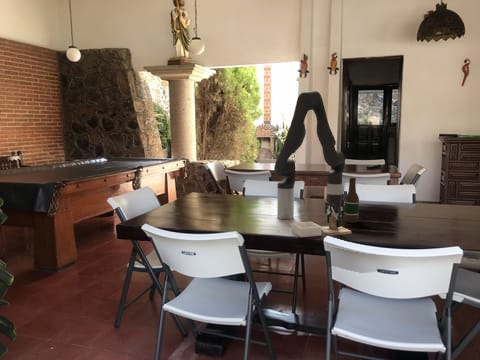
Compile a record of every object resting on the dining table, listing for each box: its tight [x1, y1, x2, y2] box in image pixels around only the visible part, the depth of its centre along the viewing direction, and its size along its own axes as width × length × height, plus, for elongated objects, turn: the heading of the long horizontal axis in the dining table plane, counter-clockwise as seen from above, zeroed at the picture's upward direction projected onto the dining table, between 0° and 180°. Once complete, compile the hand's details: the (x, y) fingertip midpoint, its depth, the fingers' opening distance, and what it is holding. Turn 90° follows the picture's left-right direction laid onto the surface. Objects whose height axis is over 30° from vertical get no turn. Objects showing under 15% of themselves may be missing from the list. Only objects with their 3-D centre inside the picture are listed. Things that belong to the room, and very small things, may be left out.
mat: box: [321, 231, 351, 236], centre depth 189 cm, size 14×12×1 cm
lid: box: [321, 215, 352, 236], centre depth 189 cm, size 12×12×7 cm
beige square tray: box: [291, 221, 322, 238], centre depth 185 cm, size 11×11×4 cm
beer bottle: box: [343, 176, 360, 224], centre depth 206 cm, size 8×8×24 cm
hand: (333, 225), depth 189 cm, fingers open, 8 cm apart
